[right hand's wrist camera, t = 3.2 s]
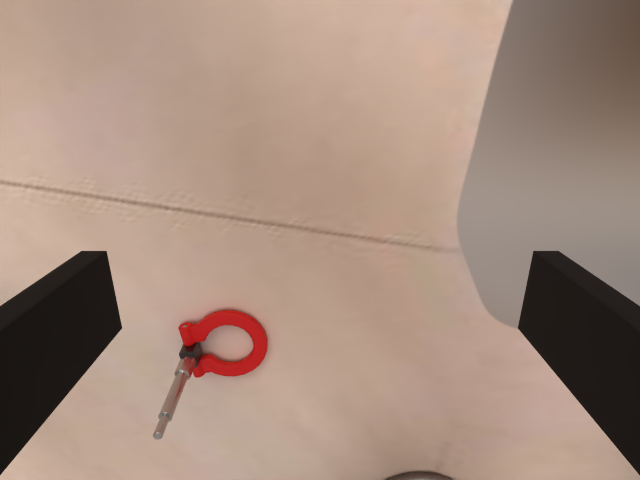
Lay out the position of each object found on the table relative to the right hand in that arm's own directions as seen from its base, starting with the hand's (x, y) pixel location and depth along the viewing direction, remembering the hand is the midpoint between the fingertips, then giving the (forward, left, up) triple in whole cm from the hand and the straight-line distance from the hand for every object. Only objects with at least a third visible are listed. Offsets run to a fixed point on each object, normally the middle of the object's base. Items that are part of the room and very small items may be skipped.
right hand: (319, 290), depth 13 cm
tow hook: (-21, +11, -28) cm, 37 cm away
